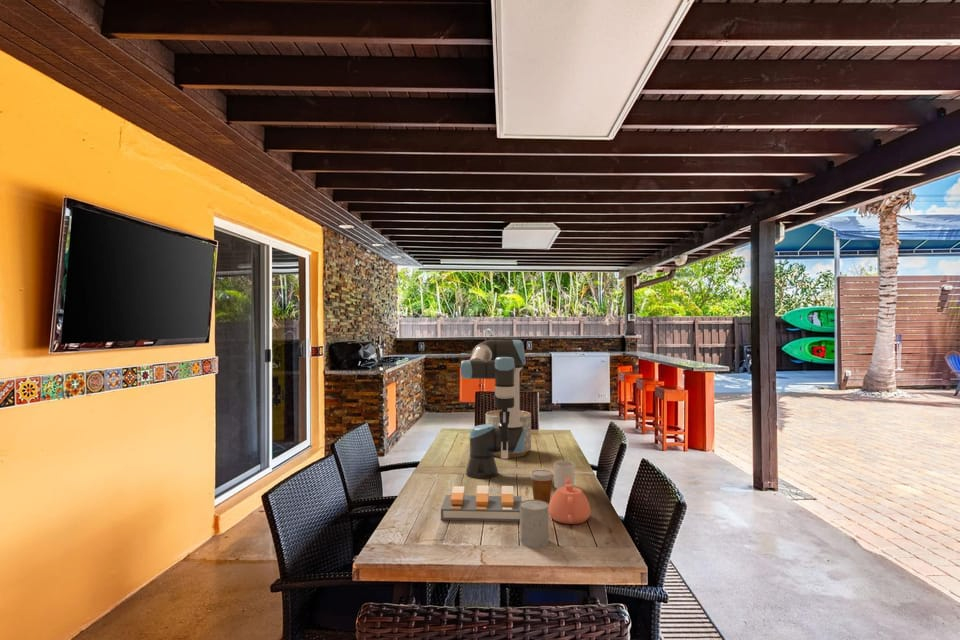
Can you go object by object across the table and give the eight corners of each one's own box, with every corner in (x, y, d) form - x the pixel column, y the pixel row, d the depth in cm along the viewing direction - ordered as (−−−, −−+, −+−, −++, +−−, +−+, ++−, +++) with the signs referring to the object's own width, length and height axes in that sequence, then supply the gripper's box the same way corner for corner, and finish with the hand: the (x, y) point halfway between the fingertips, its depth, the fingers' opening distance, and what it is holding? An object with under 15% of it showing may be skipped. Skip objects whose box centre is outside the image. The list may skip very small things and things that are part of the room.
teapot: (547, 506, 207) (547, 475, 207) (588, 508, 205) (588, 476, 205) (548, 528, 185) (548, 492, 185) (593, 530, 183) (593, 494, 184)
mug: (574, 492, 224) (574, 466, 225) (553, 491, 226) (553, 465, 226) (575, 484, 236) (575, 459, 236) (555, 483, 238) (555, 458, 238)
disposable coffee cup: (555, 499, 215) (555, 470, 215) (550, 507, 206) (550, 476, 206) (532, 497, 218) (532, 468, 218) (527, 504, 209) (527, 474, 209)
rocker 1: (453, 491, 206) (453, 486, 205) (464, 491, 205) (464, 486, 205) (450, 504, 196) (450, 499, 195) (462, 504, 196) (462, 499, 195)
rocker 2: (477, 489, 205) (477, 485, 205) (488, 490, 205) (488, 485, 204) (475, 506, 196) (475, 501, 195) (487, 506, 195) (487, 501, 195)
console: (445, 505, 209) (445, 491, 209) (521, 506, 207) (521, 493, 207) (440, 520, 192) (440, 505, 192) (522, 521, 191) (522, 507, 191)
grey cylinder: (517, 536, 178) (517, 500, 178) (545, 535, 179) (545, 499, 179) (522, 548, 168) (522, 509, 168) (551, 547, 169) (551, 509, 169)
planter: (532, 458, 281) (532, 417, 281) (485, 458, 281) (485, 417, 282) (529, 447, 307) (529, 409, 307) (485, 447, 307) (485, 409, 307)
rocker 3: (501, 490, 205) (501, 485, 204) (513, 490, 204) (513, 486, 204) (501, 506, 195) (501, 502, 194) (513, 506, 195) (513, 502, 194)
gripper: (495, 394, 210) (495, 453, 210) (494, 399, 197) (494, 462, 197) (514, 394, 209) (514, 454, 209) (514, 399, 196) (514, 462, 196)
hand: (504, 457), depth 203 cm, fingers closed
